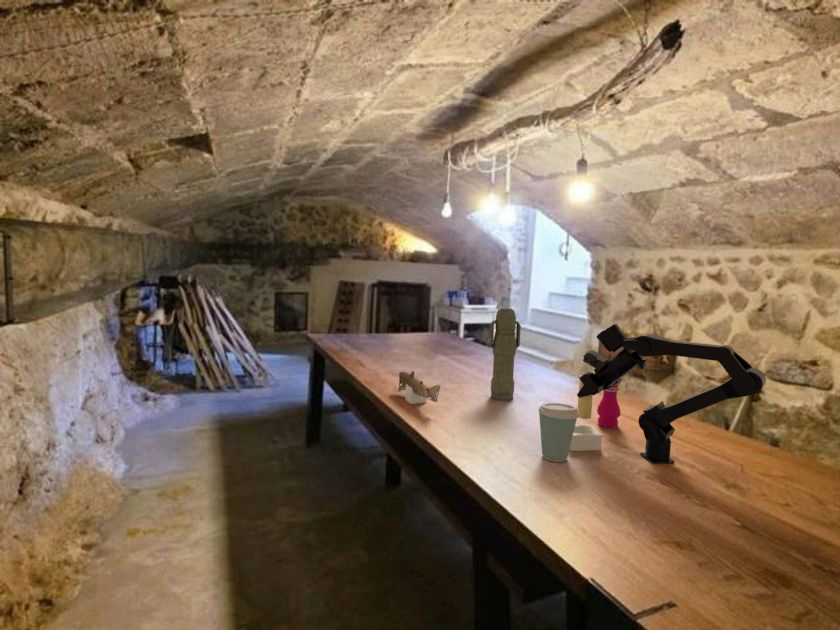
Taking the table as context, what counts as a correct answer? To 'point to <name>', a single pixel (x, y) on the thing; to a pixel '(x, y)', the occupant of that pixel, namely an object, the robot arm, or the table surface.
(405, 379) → the wood carving
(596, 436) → the socket
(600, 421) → the pepper mill
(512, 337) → the thermos
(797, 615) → the table surface
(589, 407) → the peg
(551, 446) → the disposable coffee cup
